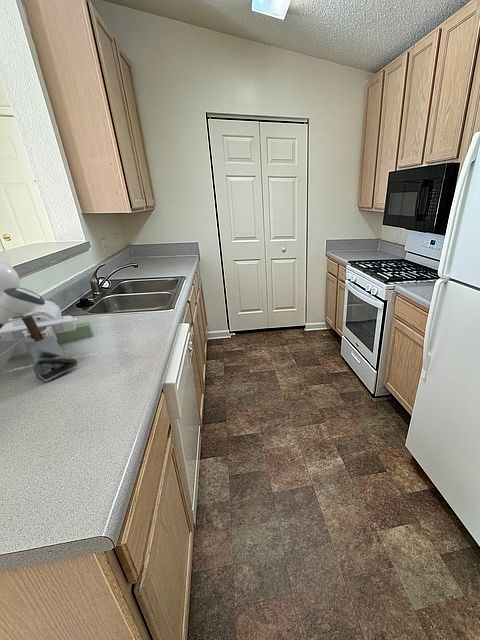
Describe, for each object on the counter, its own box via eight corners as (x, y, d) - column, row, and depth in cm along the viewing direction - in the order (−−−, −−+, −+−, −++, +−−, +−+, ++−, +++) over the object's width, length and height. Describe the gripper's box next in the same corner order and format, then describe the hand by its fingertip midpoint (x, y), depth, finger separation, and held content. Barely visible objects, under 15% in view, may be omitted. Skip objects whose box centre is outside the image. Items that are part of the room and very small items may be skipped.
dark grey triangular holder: (70, 362, 117) (30, 351, 108) (79, 359, 113) (38, 347, 104) (62, 388, 114) (20, 379, 105) (71, 386, 110) (27, 376, 101)
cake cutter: (35, 364, 106) (9, 321, 98) (36, 360, 108) (11, 318, 100) (63, 356, 109) (41, 314, 101) (64, 353, 111) (42, 311, 103)
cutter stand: (59, 344, 132) (53, 330, 129) (60, 340, 136) (55, 326, 133) (93, 338, 137) (89, 325, 134) (93, 334, 141) (89, 321, 138)
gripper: (80, 325, 120) (78, 338, 109) (10, 337, 112) (0, 352, 101) (74, 308, 117) (71, 320, 106) (2, 319, 109) (-10, 333, 98)
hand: (36, 336), depth 103 cm, fingers closed on cake cutter, 3 cm apart
